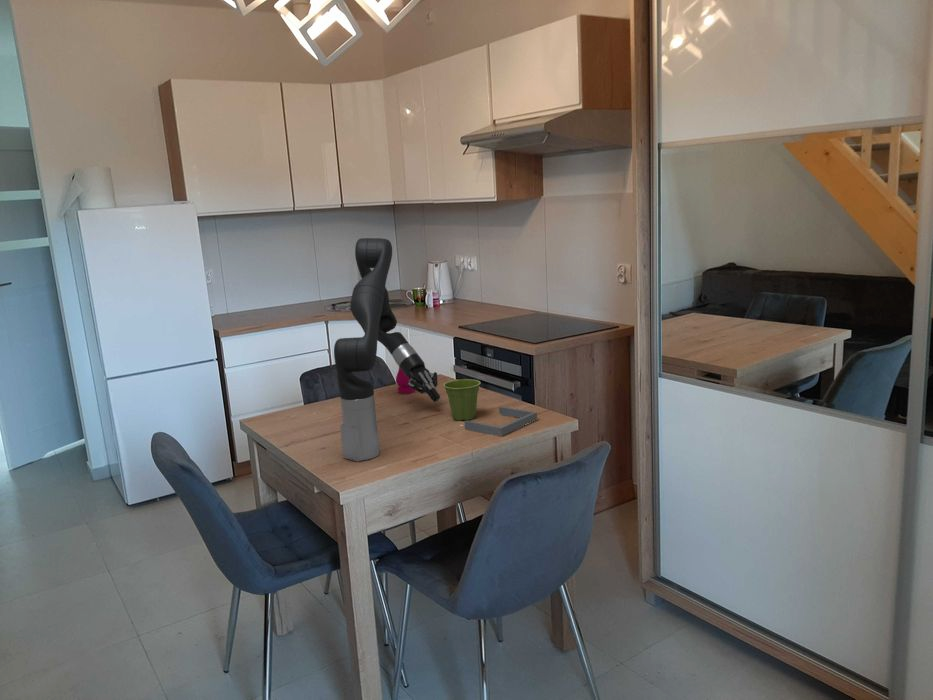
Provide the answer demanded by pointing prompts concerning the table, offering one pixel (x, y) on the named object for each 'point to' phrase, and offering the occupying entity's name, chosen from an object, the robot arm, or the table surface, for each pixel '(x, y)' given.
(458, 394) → the plant pot
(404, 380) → the pepper mill
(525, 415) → the bay
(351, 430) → the robot arm
